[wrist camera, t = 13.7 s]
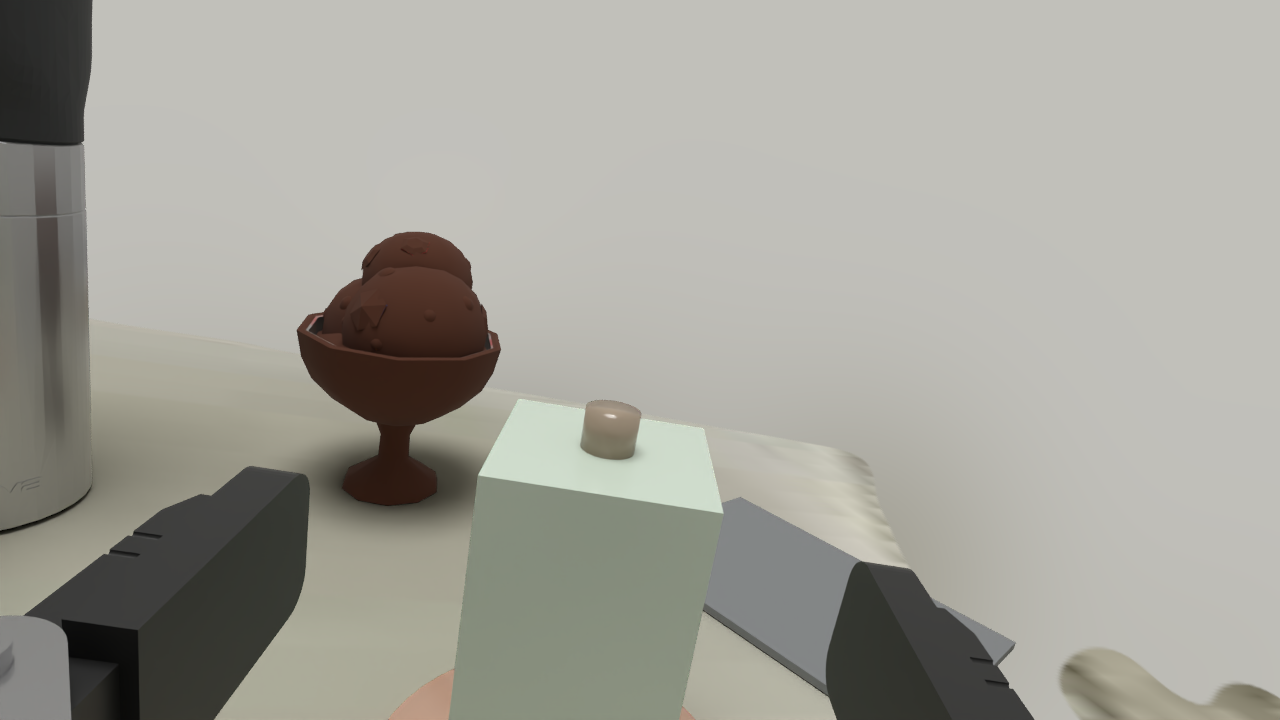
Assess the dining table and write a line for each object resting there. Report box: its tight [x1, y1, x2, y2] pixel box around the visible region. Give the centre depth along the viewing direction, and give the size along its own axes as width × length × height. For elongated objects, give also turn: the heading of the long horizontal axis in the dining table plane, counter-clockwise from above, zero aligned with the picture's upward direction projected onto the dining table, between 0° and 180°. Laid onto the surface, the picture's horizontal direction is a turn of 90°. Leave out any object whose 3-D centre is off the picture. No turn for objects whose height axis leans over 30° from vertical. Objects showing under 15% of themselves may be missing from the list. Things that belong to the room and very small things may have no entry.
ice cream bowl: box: [297, 232, 501, 506], centre depth 42 cm, size 11×11×15 cm
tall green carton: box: [449, 399, 724, 720], centre depth 23 cm, size 6×6×13 cm
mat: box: [703, 497, 1015, 696], centre depth 39 cm, size 18×12×1 cm, turn 45°
